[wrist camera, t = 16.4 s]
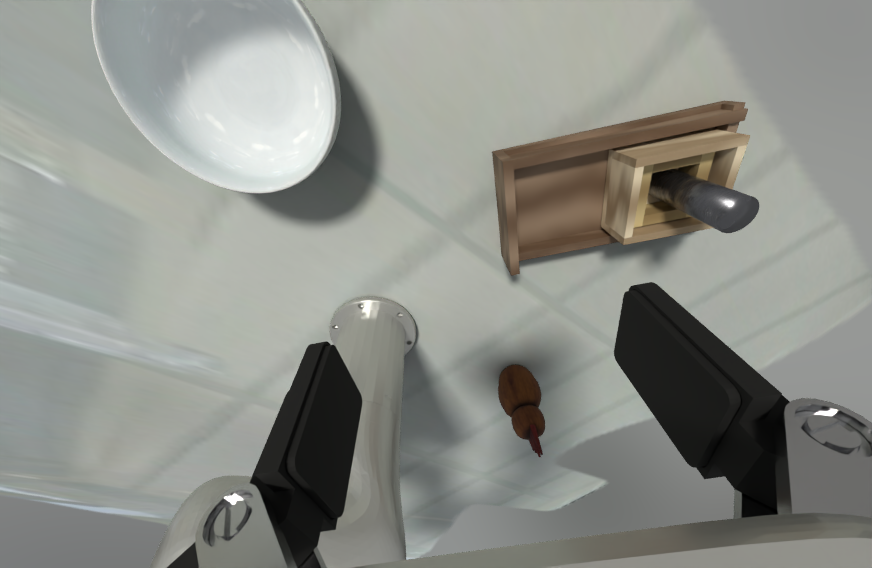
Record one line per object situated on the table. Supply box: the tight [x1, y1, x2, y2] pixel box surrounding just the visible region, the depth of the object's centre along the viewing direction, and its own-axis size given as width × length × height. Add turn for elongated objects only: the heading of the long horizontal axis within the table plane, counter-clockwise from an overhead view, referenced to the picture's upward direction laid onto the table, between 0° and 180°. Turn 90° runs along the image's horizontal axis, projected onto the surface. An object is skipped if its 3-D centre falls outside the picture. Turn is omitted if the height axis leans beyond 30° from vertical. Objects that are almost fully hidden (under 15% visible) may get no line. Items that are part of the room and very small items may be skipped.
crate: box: [601, 128, 750, 245], centre depth 33 cm, size 9×10×5 cm
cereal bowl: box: [91, 0, 341, 193], centre depth 26 cm, size 17×17×7 cm
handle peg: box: [648, 169, 759, 233], centre depth 30 cm, size 3×3×10 cm
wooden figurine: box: [498, 365, 545, 457], centre depth 48 cm, size 7×6×15 cm
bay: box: [492, 101, 748, 275], centre depth 34 cm, size 13×24×5 cm, turn 101°
